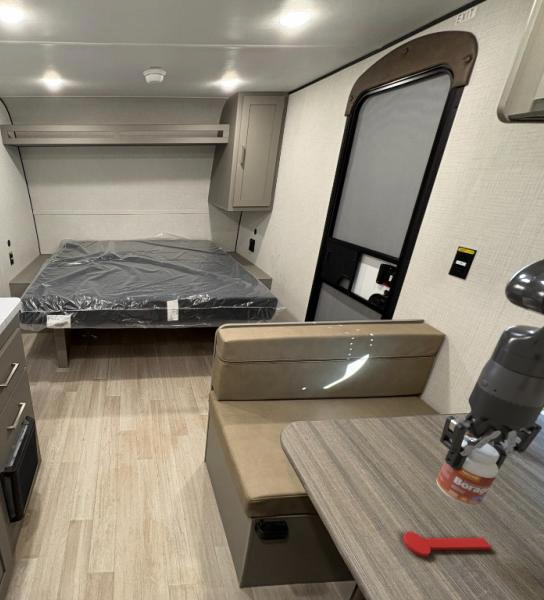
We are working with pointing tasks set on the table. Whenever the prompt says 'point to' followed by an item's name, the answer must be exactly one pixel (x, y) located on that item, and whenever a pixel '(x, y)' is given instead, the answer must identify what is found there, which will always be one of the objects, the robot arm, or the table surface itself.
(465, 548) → the spoon
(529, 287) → the robot arm
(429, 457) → the table surface
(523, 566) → the table surface
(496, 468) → the pill bottle
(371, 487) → the table surface
